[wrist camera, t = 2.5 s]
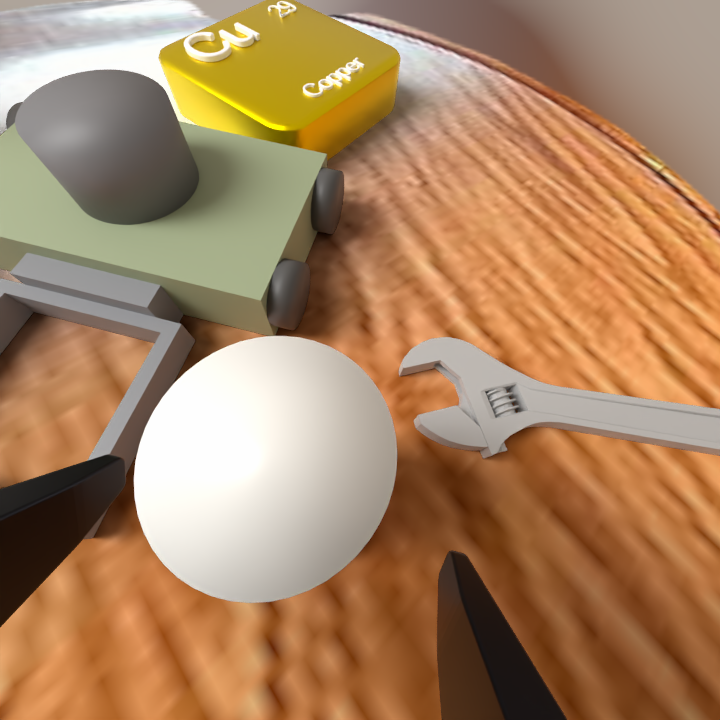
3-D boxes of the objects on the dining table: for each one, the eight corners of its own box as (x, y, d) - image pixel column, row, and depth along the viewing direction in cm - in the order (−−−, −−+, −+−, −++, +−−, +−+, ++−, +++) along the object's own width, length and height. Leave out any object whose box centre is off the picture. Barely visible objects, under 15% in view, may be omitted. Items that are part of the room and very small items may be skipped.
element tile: (295, 190, 27) (286, 128, 23) (170, 111, 30) (141, 44, 26) (402, 108, 32) (412, 45, 28) (286, 48, 36) (278, -17, 31)
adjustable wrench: (803, 430, 21) (842, 423, 19) (840, 545, 18) (889, 549, 17) (407, 340, 22) (413, 327, 20) (389, 438, 19) (394, 431, 18)
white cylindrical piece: (293, 592, 16) (183, 773, 5) (228, 473, 18) (45, 409, 7) (400, 503, 17) (500, 488, 7) (330, 405, 19) (318, 267, 8)
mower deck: (206, 571, 16) (91, 621, 8) (-216, 448, 17) (-633, 399, 10) (343, 207, 26) (345, 88, 19) (73, 146, 27) (-25, 11, 20)
